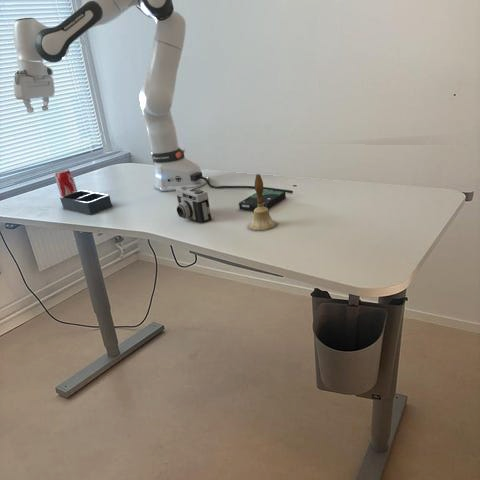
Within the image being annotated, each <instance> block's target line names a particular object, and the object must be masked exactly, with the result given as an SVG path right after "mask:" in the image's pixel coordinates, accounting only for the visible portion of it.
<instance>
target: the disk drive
mask: <svg viewBox="0 0 480 480" xmlns="http://www.w3.org/2000/svg"><path fill="white" fill-rule="evenodd" d="M262 197H263V206H264V207H266V208H268V210H270V209H272V208H273V207H275V206H276V205H278V204H280V203H281V202H282V201H284V200H286V197H287V194H286V192H285V191H274V190H265V189H263V194H262ZM257 207H258V198H257V193H256V192H254V193H253V194H252V195H250V196H248V197H247V198H245V199H243V200H241V201H240V202H238V208H239V210H241V211H247V212H254V210H255V209H256V208H257Z"/></svg>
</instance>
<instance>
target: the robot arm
mask: <svg viewBox="0 0 480 480" xmlns="http://www.w3.org/2000/svg"><path fill="white" fill-rule="evenodd" d="M132 7H135V8H137V9H138V10H139V11H140V12H141V13H142V14H143V15H145V16H147V17H148V18H150V19H154V22H155V30H154V35H153V40H152V46H151V48H150V54H149V59H148V61H147V63H148V64H147V72H146V79H145V84H144V85H143V86H142V88H141V89H140V92H139V102H140V107H141V110H142V114H143V118H144V122H145V127H146V130H147V134H148V139H149V144H150V148H151V152H150V154H151V159H152V163H153V166H154V173H155V185H154V186H155V188H156V189H158V190H160V191H161V192H170V191H171V192H172V191H176V188H179V187H182V186H190V187H194V188H196V189H199V188H200V187H202V186H205V184H207V185H208V186H209V187H210V188H212V189H252V190H253V189H255V185H219V186H217V185H216V186H215V185H213V184H211V183H210V181H209V176H208V175H203V172H202V169H201V167H200V166H199V165H198V164H197V163H195V162H193V161H192V160H191V159H189V158H187V157H185V152H186V149H185V148H184V149H182V148H180V147H179V140H178V135H177V130H176V125H175V123H174V119H173V115H172V111H171V109H172V105H173V100H174V95H175V89H176V84H177V83H176V82H177V76H178V75H177V74H178V70H179V65H180V62H181V57H182V53H183V50H184V45H185V38H186V30H187V24H186V20H185V18H184V16H182V15H181V14H180V12H177V11H175V9H174V8H175V7H174V4H173V0H83V2H82V4H81V5H80V6H79V7H78V9H76V11H74V12H73V13H72V14H71V15H70V16H68V17H67V18H66V19H64V20H63V21H61V23H59V24H58V25H56V26H53V27H49V26H47V25H45V24H43V23H42V22H40V21H38V20H37V19H36V18H35V17H23V18H18V19H16V20H15V21H14V22H13V25H12V31H13V32H12V33H13V35H12V36H13V43H14V48H15V50H16V53H17V56H16V61H17V68H18V70H16V71H15V73H14V75H13V92H14V93H13V94H14V98H15V99H16V100H19V101H20V100H21V101H23V102H22V103H23V104H24V107H25V108H26V112H27V113H28V114H33V113H34V111H35V110H34V107H33V106H32V104H31V102H32V101H31V100H33V99H34V100H36V99H41V101H42V105H41V110H42V111H48V110H49V103H50V98H52V97H54V96H55V94H56V90H55V82H54V77H53V75H54V70H53V69H52V68H51V67H49V66H47V65H46V64H45V62H44V61H46V62H48V63H58V62H60V61H62V60H64V59H65V58H66V57H67V56H68V54H69V51H70V46H71V45H72V44H73V43H74V42H75V41H76V40H77V39H79V38H80V37H81V36H83V35H84V34H85V33H86V32H88V31H89V30H91V29H92V28H95V27H98V26H103V25H106V24H109V23H111V22H112V21H114V20H116V19H117V18H119V17H120V16H121V15H123V14H124V13H125V12H126V11H128V10H129V9H131V8H132ZM263 190H267V191H273V190H274V191H285V193H289V194H293V193H294V190H291V189H290V190H289V189H283V188H277V187H268V186H267V187H266V186H263Z"/></svg>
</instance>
